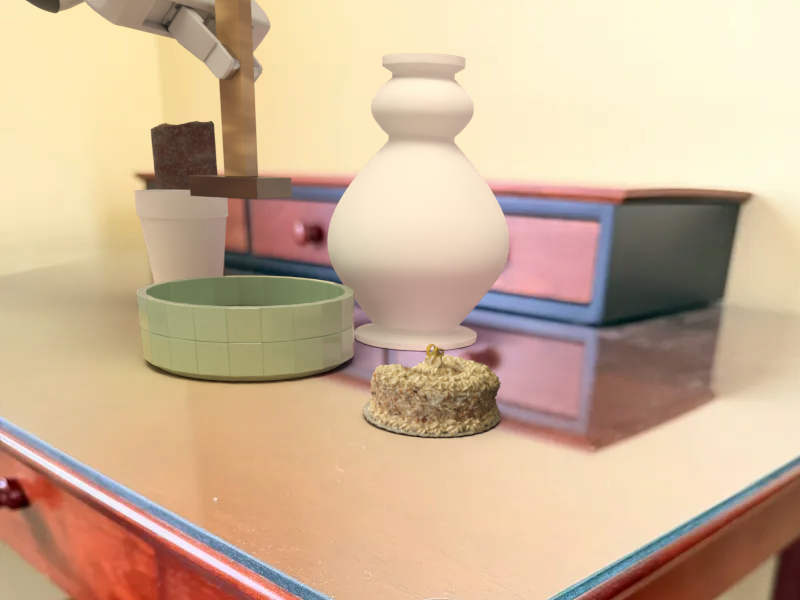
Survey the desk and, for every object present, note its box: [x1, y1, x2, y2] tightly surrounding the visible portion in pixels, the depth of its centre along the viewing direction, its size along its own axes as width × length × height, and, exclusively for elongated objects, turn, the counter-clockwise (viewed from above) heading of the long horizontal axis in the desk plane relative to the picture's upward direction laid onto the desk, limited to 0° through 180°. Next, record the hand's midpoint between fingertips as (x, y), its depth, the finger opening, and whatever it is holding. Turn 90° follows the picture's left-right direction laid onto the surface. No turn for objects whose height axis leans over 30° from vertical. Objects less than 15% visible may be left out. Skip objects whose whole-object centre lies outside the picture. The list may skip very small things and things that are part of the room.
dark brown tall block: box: [150, 120, 226, 276], centre depth 97 cm, size 8×7×20 cm
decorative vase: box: [327, 52, 510, 352], centre depth 79 cm, size 18×18×25 cm
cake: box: [362, 344, 502, 438], centre depth 58 cm, size 10×10×5 cm
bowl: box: [136, 275, 355, 382], centre depth 73 cm, size 19×19×6 cm
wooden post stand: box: [189, 0, 293, 200], centre depth 64 cm, size 6×6×16 cm
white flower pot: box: [133, 189, 229, 283], centre depth 89 cm, size 10×9×13 cm
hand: (242, 75), depth 63 cm, fingers closed on wooden post stand
